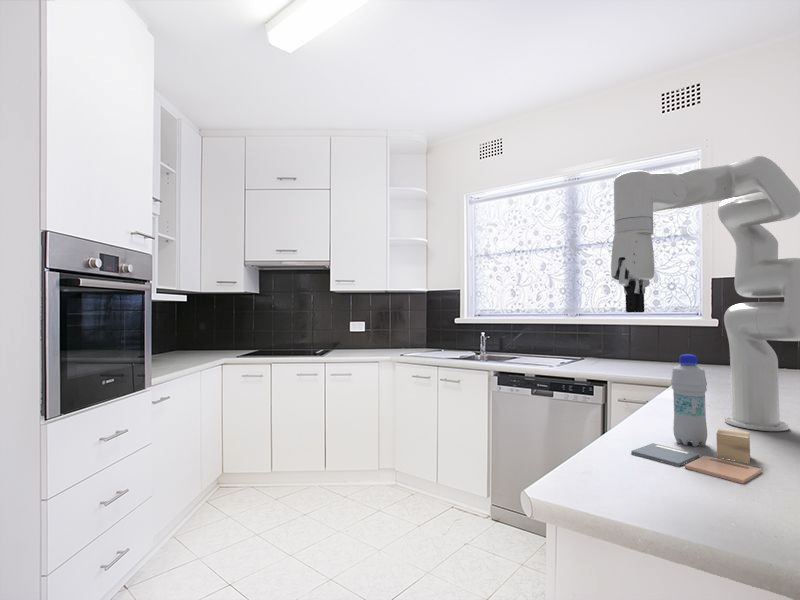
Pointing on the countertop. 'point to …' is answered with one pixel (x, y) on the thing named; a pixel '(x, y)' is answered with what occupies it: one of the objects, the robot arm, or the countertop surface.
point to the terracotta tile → (724, 469)
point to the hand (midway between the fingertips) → (635, 312)
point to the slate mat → (665, 454)
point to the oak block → (733, 445)
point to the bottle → (689, 401)
